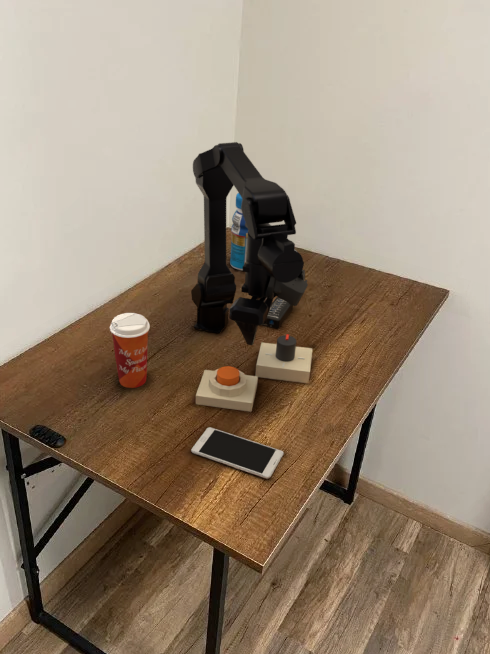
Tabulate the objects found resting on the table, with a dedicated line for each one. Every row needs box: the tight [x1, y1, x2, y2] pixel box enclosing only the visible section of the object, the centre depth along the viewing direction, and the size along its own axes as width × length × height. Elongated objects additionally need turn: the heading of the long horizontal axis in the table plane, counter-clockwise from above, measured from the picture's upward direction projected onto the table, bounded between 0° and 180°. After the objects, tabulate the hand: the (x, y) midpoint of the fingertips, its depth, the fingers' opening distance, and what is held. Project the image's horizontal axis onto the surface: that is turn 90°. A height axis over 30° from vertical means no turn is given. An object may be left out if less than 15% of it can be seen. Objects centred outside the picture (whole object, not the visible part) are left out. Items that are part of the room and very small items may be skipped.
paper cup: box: [109, 312, 151, 389], centre depth 125 cm, size 8×8×14 cm
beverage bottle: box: [229, 192, 248, 272], centre depth 169 cm, size 8×8×20 cm
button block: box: [195, 368, 259, 413], centre depth 125 cm, size 11×9×4 cm
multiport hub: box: [261, 296, 294, 330], centre depth 151 cm, size 4×11×2 cm, turn 155°
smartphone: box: [190, 426, 285, 480], centre depth 111 cm, size 8×1×15 cm
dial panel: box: [254, 342, 313, 384], centre depth 133 cm, size 11×9×3 cm
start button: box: [216, 365, 240, 386], centre depth 123 cm, size 4×4×2 cm
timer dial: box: [276, 333, 297, 362], centre depth 131 cm, size 4×4×4 cm
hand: (256, 332), depth 122 cm, fingers open, 9 cm apart
